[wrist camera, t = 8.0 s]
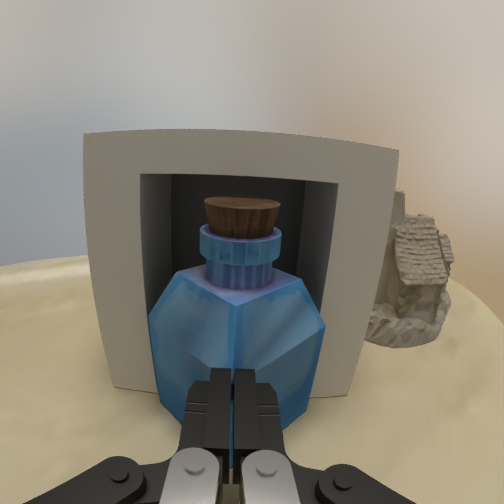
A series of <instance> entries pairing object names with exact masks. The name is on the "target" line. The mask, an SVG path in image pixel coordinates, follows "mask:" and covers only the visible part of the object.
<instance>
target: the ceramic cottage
mask: <svg viewBox="0 0 504 504" xmlns="http://www.w3.org/2000/svg"><path fill="white" fill-rule="evenodd" d="M453 262H454V256H453V253H452V249H451V245H450V240H449V238H448V237H447V235H446V234H439V230H438V229H437V228H436V226H435V223H434V218H433V217H428V216H427V214H425V213H419V214H418V216H416V215H407V214H405V193H404V192H403V190H402V189H400V188H395V193H394V201H393V208H392V214H391V221H390V227H389V233H388V239H387V244H386V249H385V255H384V260H383V265H382V269H381V274H380V279H379V283H378V288H377V292H376V296H375V300H374V304H373V308H372V312H371V316H370V320H369V324H368V328H367V331H366V335H365V338H364V340H367V341H368V342H371V343H374V344H377V345H380V346H385V347H386V346H387V347H390V348H408V347H414V346H418V345H422V344H426V343H427V342H429V341H432V340H435V339H436V338H437V336H438V334H439V332H440V330H441V327H442V324H443V321H444V320H445V317H446V314H447V312H448V310H449V308H450V304H451V300H450V297H449V295H448V293H447V291H446V290H445V288H446V284H447V282H448V277H449V275H450V273H449V272H450V264H451V263H453Z"/></svg>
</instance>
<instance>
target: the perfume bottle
mask: <svg viewBox="0 0 504 504" xmlns="http://www.w3.org/2000/svg"><path fill="white" fill-rule="evenodd" d="M204 204H205V209H206V214H207V220H208V224H205V225H203V226H202V227H201V228H200V253H201V254H202V255H203V256H204V257H206V264H204V265H200V266H197V267H193V268H189V269H186V270H182V271H178V272H176V273H175V275H174V276H173V278H172V279H171V281H170V282H169V284H168V286H167V287H166V289H165V290H164V292H163V293H162V295H161V297H160V298H159V300H158V301H157V303H156V304H155V306H154V308H153V309H152V311H151V312H150V314H149V316H148V319H149V328H150V336H151V344H152V351H153V358H154V365H155V372H156V378H157V384H158V390H159V395H160V401H161V403H162V404H163V405H164V406H165V407H166V408H167V409H168V410H169V411H170V412H171V414H172V415H173V416H174V417H175V418H176V419H177V420H178V421H179V422H180V423H181V424H182V423H183V417H184V413H185V406H186V400H187V394H188V390H189V388H190V387H191V386H192V385H193V383H194V382H195V381H196V380H199V381H210V372H211V367H216V368H231V403H230V458H229V468H231V467H233V395H234V369H235V368H241V369H255V377H256V383H270V385H271V386H272V387H273V389H274V390H275V391H276V393H277V399H278V406H279V413H280V414H279V415H280V420H281V427H282V430H283V429H284V428H285V427H286V426H288V425H289V424H290V423H291V422H293V421H294V420H295V419H296V418H297V417H299V416H300V415H301V414H302V413H303V412H304V411H306V409H307V405H308V401H309V397H310V393H311V389H312V385H313V381H314V377H315V373H316V369H317V364H318V360H319V355H320V351H321V346H322V342H323V337H324V332H325V327H326V326H325V324H324V322H323V320H322V318H321V316H320V314H319V312H318V310H317V308H316V306H315V304H314V302H313V300H312V298H311V296H310V295H309V293H308V291H307V289H306V287H305V285H304V283H303V281H302V279H301V278H298V277H295V276H293V275H290V274H288V273H285V272H283V271H280V270H278V269H275V268H273V267H272V261H274V260H276V259H277V258H278V257H279V255H280V246H281V235H282V234H281V231H280V230H279V229H277V228H276V227H274V225H275V222H276V218H277V215H278V212H279V208H280V203H279V202H277V201H274V200H271V199H266V198H260V197H252V196H215V197H209V198H206V199H205V200H204Z"/></svg>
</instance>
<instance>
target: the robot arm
mask: <svg viewBox="0 0 504 504" xmlns="http://www.w3.org/2000/svg"><path fill="white" fill-rule="evenodd" d="M230 403H231V368H216V367H211V372H210V381H199V380H196V381H195V382H194V383H193V385H192V386H191V387H190V388H189V390H188V394H187V400H186V406H185V413H184V417H183V423H182V429H181V435H180V441H179V447H178V449H177V451H176V453H175V454H174V455H173V456H172V457H171V458H170V459H168V460H166V461H164V462H161V463H156V464H148V465H138V464H137V463H136V462H135V461H134V460H132V459H130V458H127V457H123V456H114V457H110V458H107V459H105V460H103V461H102V462H100V463H98V464H97V465H95V466H93V467H92V468H90V469H88V470H86V471H85V472H83V473H81V474H79V475H78V476H76V477H74V478H72V479H70V480H69V481H67V482H65V483H63V484H61V485H59V486H57V487H55V488H54V489H52V490H50V491H48V492H46V493H44V494H42V495H40V496H38V497H36V498H34V499H32V500H30V501H28V502H26V503H23V504H221V502H222V498H223V484H229V458H230ZM279 414H280V413H279V406H278V399H277V393H276V391H275V390H274V389H273V387H272V386H271V385H270V383H256V377H255V369H241V368H235V369H234V395H233V484H239V504H416V503H414V502H412V501H411V500H409V499H407V498H405V497H403V496H402V495H400V494H398V493H397V492H395V491H393V490H391V489H390V488H388V487H386V486H385V485H383V484H381V483H380V482H378V481H377V480H375V479H373V478H372V477H370V476H369V475H367V474H365V473H364V472H362V471H361V470H359V469H358V468H356V467H354V466H351V465H347V464H337V465H333V466H331V467H329V468H327V469H326V470H325V471H322V470H316V469H310V468H305V467H302V466H299V465H297V464H296V463H294V462H293V461H292V460H291V459H290V458H289V457H288V456H287V454H286V452H285V448H284V441H283V434H282V427H281V420H280V415H279Z"/></svg>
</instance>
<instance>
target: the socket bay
mask: <svg viewBox="0 0 504 504" xmlns="http://www.w3.org/2000/svg"><path fill="white" fill-rule="evenodd" d="M83 139H84V140H83V187H84V209H85V225H86V237H87V247H88V257H89V265H90V273H91V280H92V287H93V293H94V299H95V305H96V311H97V316H98V321H99V326H100V331H101V336H102V341H103V345H104V350H105V354H106V358H107V362H108V366H109V370H110V374H111V378H112V381H113V385H114V387H118V388H125V389H131V390H138V391H146V392H154V393H158V391H159V390H158V384H157V378H156V372H155V365H154V358H153V351H152V344H151V336H150V328H149V319H148V316H149V314H150V312H151V311H152V309H153V308H154V306H155V304H156V303H157V301H158V300H159V298H160V297H161V295H162V293H163V292H164V290H165V289H166V287H167V286H168V284H169V282H170V281H171V279H172V278H173V276H174V275H175V273H176V272H178V271H182V270H186V269H189V268H193V267H197V266H200V265H204V264H206V257H204V256H203V255H202V254H201V253H200V228H201V227H202V226H203V225H205V224H208V220H207V214H206V209H205V204H204V200H205V199H206V198H209V197H215V196H252V197H260V198H266V199H271V200H274V201H277V202H279V203H280V208H279V212H278V215H277V218H276V222H275V225H274V227H276V228H277V229H279V230H280V231H281V234H282V235H281V246H280V255H279V257H278V258H277V259H276V260H274V261H272V267H273V268H275V269H278V270H280V271H283V272H285V273H288V274H290V275H293V276H295V277H298V278H301V279H302V281H303V283H304V285H305V287H306V289H307V291H308V293H309V295H310V296H311V298H312V300H313V302H314V304H315V306H316V308H317V310H318V312H319V314H320V316H321V318H322V320H323V322H324V324H325V326H326V327H325V332H324V337H323V342H322V346H321V351H320V355H319V360H318V364H317V369H316V373H315V377H314V381H313V385H312V389H311V393H310V397H309V398H317V397H332V396H344V395H347V392H348V390H349V387H350V384H351V381H352V378H353V375H354V372H355V368H356V365H357V362H358V359H359V355H360V352H361V349H362V345H363V342H364V338H365V335H366V331H367V328H368V324H369V320H370V316H371V312H372V308H373V304H374V300H375V296H376V292H377V288H378V283H379V279H380V274H381V269H382V265H383V260H384V255H385V249H386V244H387V239H388V233H389V227H390V221H391V214H392V208H393V201H394V193H395V186H396V177H397V168H398V158H399V150H395V149H390V148H385V147H379V146H374V145H368V144H362V143H356V142H350V141H343V140H336V139H328V138H321V137H312V136H304V135H303V136H302V135H294V134H283V133H272V132H258V131H240V130H216V129H155V130H130V131H113V132H100V133H89V134H84V138H83Z"/></svg>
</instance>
